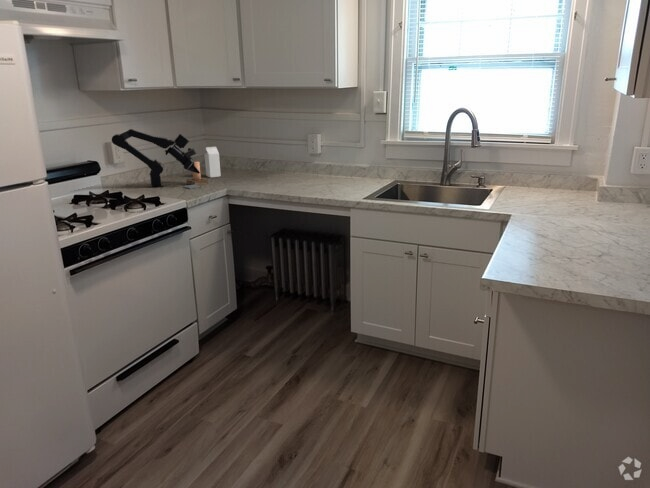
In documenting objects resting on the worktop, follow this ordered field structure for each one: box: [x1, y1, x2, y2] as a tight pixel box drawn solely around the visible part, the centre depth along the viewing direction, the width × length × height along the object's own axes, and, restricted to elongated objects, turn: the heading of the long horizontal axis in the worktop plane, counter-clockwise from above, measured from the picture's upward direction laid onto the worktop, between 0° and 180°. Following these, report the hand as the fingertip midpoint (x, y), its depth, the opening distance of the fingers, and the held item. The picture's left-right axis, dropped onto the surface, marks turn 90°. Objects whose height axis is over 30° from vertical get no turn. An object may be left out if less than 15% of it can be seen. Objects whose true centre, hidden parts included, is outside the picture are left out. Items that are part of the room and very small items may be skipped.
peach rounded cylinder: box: [192, 161, 202, 181], centre depth 298 cm, size 4×4×13 cm
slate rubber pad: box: [183, 184, 202, 190], centre depth 289 cm, size 7×7×1 cm
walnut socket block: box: [186, 177, 209, 186], centre depth 300 cm, size 9×9×2 cm
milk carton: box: [203, 146, 222, 178], centre depth 321 cm, size 7×7×19 cm
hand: (198, 171), depth 298 cm, fingers open, 9 cm apart
